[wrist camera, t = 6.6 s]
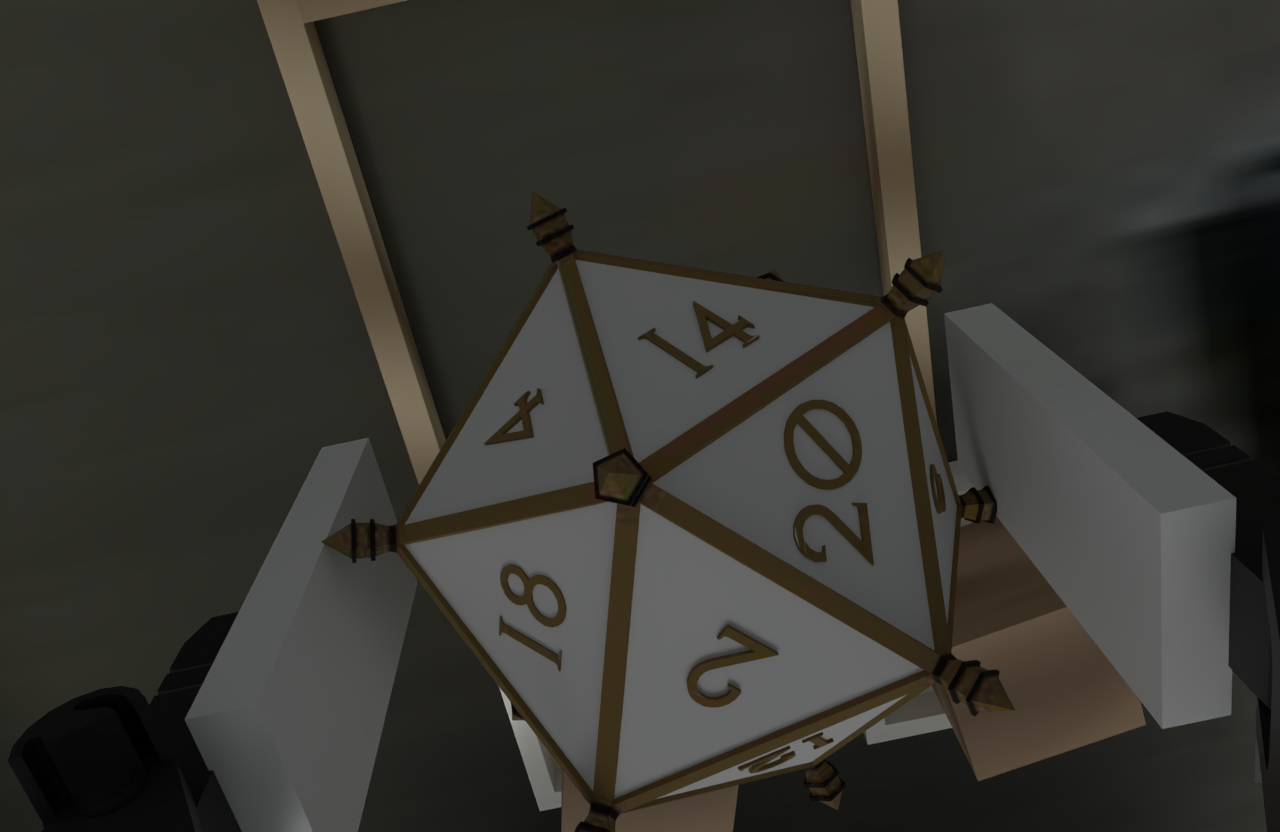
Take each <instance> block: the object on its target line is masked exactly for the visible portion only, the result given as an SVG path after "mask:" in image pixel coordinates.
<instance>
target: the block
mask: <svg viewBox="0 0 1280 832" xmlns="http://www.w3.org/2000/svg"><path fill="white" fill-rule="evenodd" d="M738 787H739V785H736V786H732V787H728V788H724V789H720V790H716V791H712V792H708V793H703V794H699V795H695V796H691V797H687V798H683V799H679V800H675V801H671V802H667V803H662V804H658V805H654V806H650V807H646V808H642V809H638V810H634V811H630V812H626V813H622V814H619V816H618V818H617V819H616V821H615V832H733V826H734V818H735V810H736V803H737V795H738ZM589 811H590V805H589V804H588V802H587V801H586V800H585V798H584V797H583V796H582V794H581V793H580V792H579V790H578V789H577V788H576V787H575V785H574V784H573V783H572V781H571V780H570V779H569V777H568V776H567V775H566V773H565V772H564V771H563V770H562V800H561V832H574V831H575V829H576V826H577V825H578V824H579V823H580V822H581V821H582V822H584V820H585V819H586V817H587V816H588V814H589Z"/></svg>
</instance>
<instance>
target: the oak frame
mask: <svg viewBox="0 0 1280 832" xmlns="http://www.w3.org/2000/svg"><path fill="white" fill-rule="evenodd" d="M402 1H407V0H257V2H258V5H259V8H260V11H261V14H262V17H263V20H264V23H265V26H266V29H267V32H268V35H269V38H270V41H271V44H272V47H273V50H274V53H275V56H276V59H277V62H278V65H279V68H280V71H281V74H282V77H283V80H284V83H285V86H286V89H287V92H288V95H289V98H290V101H291V104H292V107H293V110H294V113H295V116H296V119H297V122H298V125H299V128H300V131H301V134H302V137H303V140H304V143H305V146H306V149H307V152H308V155H309V158H310V161H311V164H312V167H313V170H314V173H315V176H316V179H317V182H318V185H319V188H320V191H321V194H322V197H323V200H324V202H325V205H326V208H327V211H328V214H329V217H330V220H331V223H332V226H333V229H334V232H335V235H336V238H337V241H338V244H339V247H340V250H341V253H342V256H343V259H344V262H345V265H346V268H347V271H348V274H349V277H350V280H351V283H352V286H353V289H354V292H355V295H356V298H357V301H358V304H359V307H360V310H361V313H362V316H363V319H364V322H365V325H366V328H367V331H368V334H369V337H370V340H371V343H372V346H373V349H374V352H375V355H376V358H377V361H378V364H379V367H380V370H381V373H382V376H383V379H384V382H385V385H386V388H387V391H388V394H389V397H390V400H391V403H392V406H393V409H394V412H395V415H396V418H397V421H398V424H399V427H400V430H401V433H402V436H403V439H404V442H405V445H406V448H407V451H408V454H409V457H410V460H411V463H412V466H413V469H414V472H415V475H416V478H417V480H418V483H419V485H420V483H421V481H422V480H423V478H424V476H425V475H426V473H427V471H428V470H429V468H430V466H431V465H432V463H433V461H434V460H435V458H436V456H437V455H438V453H439V451H440V450H441V448H442V446H443V444H444V443H445V441H446V439H445V436H444V433H443V429H442V426H441V423H440V420H439V417H438V414H437V410H436V407H435V404H434V401H433V398H432V395H431V391H430V388H429V385H428V382H427V379H426V376H425V372H424V369H423V366H422V363H421V360H420V357H419V353H418V350H417V347H416V344H415V341H414V337H413V334H412V331H411V328H410V325H409V322H408V318H407V315H406V312H405V309H404V306H403V303H402V299H401V296H400V293H399V290H398V287H397V284H396V280H395V277H394V274H393V271H392V268H391V265H390V261H389V258H388V255H387V252H386V249H385V246H384V242H383V239H382V236H381V233H380V230H379V227H378V223H377V220H376V217H375V214H374V211H373V208H372V204H371V201H370V198H369V195H368V192H367V189H366V185H365V182H364V179H363V176H362V173H361V170H360V166H359V163H358V160H357V157H356V154H355V151H354V147H353V144H352V141H351V138H350V135H349V132H348V128H347V125H346V122H345V119H344V116H343V113H342V109H341V106H340V103H339V100H338V97H337V94H336V90H335V87H334V84H333V81H332V78H331V75H330V71H329V68H328V65H327V62H326V59H325V55H324V52H323V49H322V46H321V43H320V40H319V36H318V33H317V30H316V27H315V24H314V21H318V20H322V19H327V18H331V17H335V16H340V15H344V14H349V13H353V12H358V11H362V10H367V9H371V8H376V7H380V6H384V5H389V4H393V3H398V2H402ZM850 1H851V10H852V19H853V28H854V37H855V47H856V56H857V65H858V74H859V83H860V92H861V101H862V110H863V119H864V128H865V137H866V146H867V155H868V164H869V173H870V182H871V191H872V200H873V209H874V218H875V227H876V236H877V245H878V254H879V263H880V272H881V281H882V290H883V296H885V295H886V294H888V293H889V292H890V290H891V288H892V286H893V284H892V283H891V282H892V279H893V277H894V275H895V274H896V273H898V274H899V275H900V273H901V272H902V271H903V270H904V269H905V268H904V266H905V263H906V260H907V259H908V258H910V259H912V260H914V259H918V258H921V247H920V236H919V226H918V215H917V204H916V193H915V183H914V172H913V161H912V150H911V140H910V129H909V118H908V107H907V97H906V86H905V75H904V64H903V54H902V43H901V32H900V21H899V11H898V0H850ZM905 321H906V325H907V328H908V331H909V334H910V338H911V341H912V344H913V348H914V351H915V354H916V357H917V361H918V364H919V367H920V371H921V374H922V377H923V380H924V384H925V387H926V390H927V393H928V397H929V400H930V403H931V407H932V410H933V413H934V416H935V420H936V423H937V419H936V408H935V398H934V387H933V376H932V365H931V355H930V344H929V333H928V322H927V312H926V306H922V305H919V306H917V307H916V308H914V309H912V310H910V311H908V313H907V314H906V316H905Z"/></svg>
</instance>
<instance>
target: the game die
mask: <svg viewBox="0 0 1280 832" xmlns="http://www.w3.org/2000/svg"><path fill="white" fill-rule="evenodd" d="M565 212H567V210H566V208H564V209H560V208H559V207H557V206H555V205H554V204H552V203H551V202H549V201H547V200H546V199H544V198H543V197H541V196H539V195H538V194H536V193H535V192H533V191H532V200H531V218H530V225H529V226H528V227H527V228H528V230H531V229H532V230H533V232H534V234H535V235H536V237H537V239H538V242H536V244H537V246H540V245H541V246H542V247H543V248H544V249H545V250H546V251H547V252H548V253H549V254H550V255H551V260H552V263H551V265H550V267H549V268H548V270H547V272H546V273H545V275H544V277H543V278H542V280H541V282H540V283H539V285H538V287H537V288H536V290H535V292H534V293H533V295H532V297H531V299H530V300H529V302H528V304H527V305H526V307H525V309H524V310H523V312H522V314H521V315H520V317H519V319H518V320H517V322H516V324H515V325H514V327H513V329H512V330H511V332H510V334H509V335H508V337H507V339H506V340H505V342H504V344H503V345H502V347H501V349H500V351H499V352H498V354H497V356H496V357H495V359H494V361H493V362H492V364H491V366H490V367H489V369H488V371H487V372H486V374H485V376H484V377H483V379H482V381H481V382H480V384H479V386H478V387H477V389H476V391H475V392H474V394H473V396H472V398H471V399H470V401H469V403H468V404H467V406H466V408H465V409H464V411H463V413H462V414H461V416H460V418H459V419H458V421H457V423H456V424H455V426H454V428H453V429H452V431H451V433H450V434H449V436H448V438H447V439H446V441H445V443H444V444H443V446H442V448H441V450H440V451H439V453H438V455H437V456H436V458H435V460H434V461H433V463H432V465H431V466H430V468H429V470H428V471H427V473H426V475H425V476H424V478H423V480H422V481H421V483H420V485H419V486H418V488H417V490H416V491H415V493H414V495H413V496H412V498H411V500H410V502H409V503H408V505H407V507H406V508H405V510H404V512H403V513H402V515H401V517H400V518H399V520H398V522H397V523H396V525H391V526H387V525H382V524H378V523H375V521H374V519H370V523H356V522H355V519H351V523H350V524H349V525H347V526H345V527H344V528H342V529H341V530H339V531H337V532H336V533H334V534H333V535H331V536H329V537H328V538H326V539H325V540H323V541H321V542H322V543H324V544H325V545H327V546H329V547H331V548H333V549H335V550H336V551H338V552H340V553H342V554H344V555H346V556H347V557H349V558H351V559H352V563H357V560H356V559H360V558H369V557H371V561H376V556H379V555H381V554H384V553H387V552H389V551H390V552H395V553H397V554H398V555H399V556H400V558H401V559H402V560H403V562H404V563H405V564H406V566H407V567H408V568H409V570H410V571H411V572H412V573H413V575H414V576H415V577H416V579H417V580H418V581H419V583H420V584H421V585H422V587H423V588H424V589H425V590H426V592H427V593H428V594H429V596H430V597H431V598H432V600H433V601H434V602H435V604H436V605H437V606H438V607H439V609H440V610H441V611H442V613H443V614H444V615H445V617H446V618H447V619H448V621H449V622H450V623H451V624H452V626H453V627H454V628H455V630H456V631H457V632H458V634H459V635H460V636H461V638H462V639H463V640H464V641H465V643H466V644H467V645H468V647H469V648H470V649H471V651H472V652H473V653H474V655H475V656H476V657H477V658H478V660H479V661H480V662H481V664H482V665H483V666H484V668H485V669H486V670H487V672H488V673H489V674H490V675H491V677H492V678H493V679H494V681H495V682H496V683H497V685H498V686H499V687H500V688H501V690H502V691H503V692H504V694H505V695H506V696H507V698H508V699H509V700H510V702H511V708H512V720H524V721H526V722H527V724H528V725H529V726H530V728H531V729H532V730H533V732H534V733H535V734H536V736H537V737H538V738H539V739H540V741H541V742H542V743H543V745H544V746H545V747H546V749H547V750H548V751H549V753H550V754H551V755H552V756H553V758H554V759H555V760H556V762H557V763H558V764H559V766H560V767H561V768H562V770H563V771H564V772H565V773H566V775H567V776H568V777H569V779H570V780H571V781H572V783H573V784H574V785H575V787H576V788H577V789H578V790H579V792H580V793H581V794H582V796H583V797H584V798H585V800H586V801H587V802H588V804H589V805H590V811H589V814H588V816H587V817H586V819H585V820H584V822H582V821H581V822H580V823H579V824H578V825H577V826H576V829H575V831H574V832H615V821H616V819H617V818H618V816H619V814H622V813H626V812H630V811H634V810H638V809H642V808H646V807H650V806H654V805H658V804H662V803H667V802H671V801H675V800H679V799H683V798H687V797H691V796H695V795H699V794H703V793H708V792H712V791H716V790H720V789H724V788H728V787H732V786H736V785H740V784H744V783H749V782H753V781H757V780H761V779H765V778H769V777H773V776H777V775H781V774H785V773H790V772H794V771H798V770H802V769H805V773H806V778H805V782H804V785H805V787H809V789H810V791H811V794H810V800H811V801H820V802H822V803H824V804H826V805H828V806H830V807H832V808H834V809H836V810H838V808H839V804H840V799H841V794H842V790H843V789H844V788H845V787H846V784H845V783H844V782H843V781H842V780H841V779H840V778H839V777H838V776H837V775H838V774H839V772H838V770H837V769H836V768H835V767H834V766H833V765H832V764H831V763H830V762H828V761H827V762H826V760H825V758H827V757H828V756H830V755H831V754H833V753H834V752H836V751H837V750H838V749H840V748H841V747H843V746H844V745H846V744H847V743H849V742H850V741H852V740H853V739H854V738H856V737H857V736H859V735H860V734H862V733H863V732H865V731H866V730H868V729H869V728H870V727H872V726H873V725H875V724H876V723H878V722H879V721H881V720H882V719H884V718H885V717H887V716H888V715H889V714H891V713H892V712H894V711H895V710H897V709H898V708H900V707H901V706H903V705H904V704H905V703H907V702H908V701H910V700H911V699H913V698H914V697H916V696H917V695H919V694H920V693H921V692H923V691H924V690H926V689H927V688H929V687H930V686H932V685H933V684H935V683H939V684H942V685H944V687H945V688H946V689H947V690H948V691H949V693H950V695H951V698H952V700H953V702H954V703H956V704H958V703H959V702H962V703H963V704H965V705H966V706H968V708H969V711H970V713H971V715H973V716H974V717H975V716H976V715H977V714H978V713H979V712H998V711H1016V710H1015V709H1014V707H1013V705H1012V703H1011V701H1010V699H1009V697H1008V695H1007V693H1006V691H1005V689H1004V687H1003V685H1002V683H1001V681H1000V680H999V674H1000V671H998V670H996V669H994V670H987V669H985V668H983V667H981V666H980V664H981V662H980V661H978V660H971V661H963V660H958V659H957V658H956V657H955V656H954V655H953V654H952V653H951V651H952V637H953V623H954V609H955V595H956V581H957V567H958V553H959V539H960V525H961V518H963V517H964V519H965V520H968V521H971V522H974V523H980V522H981V520H982V521H985V522H988V523H991V524H994V522H995V518H996V517H997V516H996V514H997V502H996V500H995V498H994V496H993V494H992V492H991V490H990V488H989V486H985V487H984V488H983V489H982V490H976V489H975V487H972V488H970V489H969V490H968V491H967V492H966V493H965V494H963V495H958V492H957V489H956V485H955V482H954V479H953V476H952V472H951V469H950V466H949V462H948V459H947V456H946V453H945V449H944V446H943V443H942V439H941V436H940V433H939V430H938V426H937V423H936V420H935V416H934V413H933V410H932V407H931V403H930V400H929V397H928V393H927V390H926V387H925V384H924V380H923V377H922V374H921V371H920V367H919V364H918V361H917V357H916V354H915V351H914V348H913V344H912V341H911V338H910V334H909V331H908V328H907V325H906V321H905V316H906V314H907V313H908V311H910V310H912V309H914V308H916V307H917V306H919V305H922V306H926V305H927V304H928V302H927V299H928V298H929V297H930V296H931V295H932V294H933V293H934V292H935V291H936V292H939V293H940V292H941V291H942V290H943V289H942V288H941V286H940V281H941V275H942V269H943V263H944V257H945V252H946V250H943V251H940V252H936V253H933V254H930V255H927V256H924V257H921V258H918V259H914V260H912V259H910V258H908V259H907V260H906V263H905V266H904V268H905V269H904V270H903V271H902V272H901V273H900V275H899V274H898V273H896V274H895V275H894V277H893V279H892V282H891V283H892V284H893V286H892V288H891V290H890V292H889V293H888V294H886V295H885V296H883V297H878V296H872V295H865V294H859V293H852V292H846V291H839V290H833V289H826V288H820V287H813V286H807V285H801V284H794V283H788V282H784V281H782V279H781V278H780V276H779V274H778V272H777V271H776V269H775V270H773V271H771V272H770V273H768V274H765V275H762V276H759V277H757V278H755V277H749V276H742V275H736V274H729V273H723V272H716V271H710V270H703V269H697V268H690V267H684V266H677V265H671V264H664V263H658V262H651V261H645V260H638V259H632V258H625V257H619V256H612V255H606V254H599V253H593V252H586V251H580V250H577V249H576V248H575V247H574V245H573V241H572V235H571V230H572V229H574V227H573V225H570V226H569V225H568V222H567V220H566V218H565V215H564V213H565Z"/></svg>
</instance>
